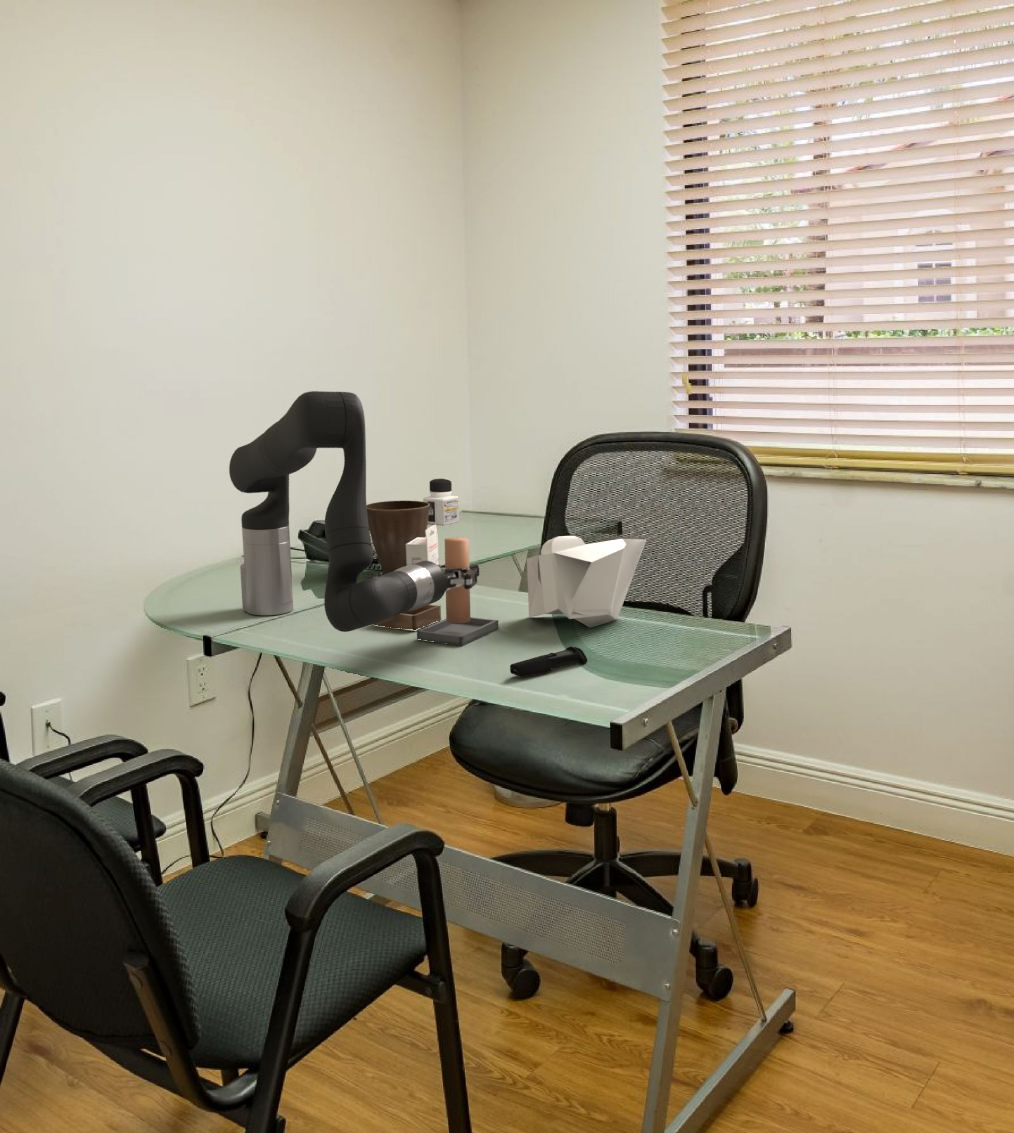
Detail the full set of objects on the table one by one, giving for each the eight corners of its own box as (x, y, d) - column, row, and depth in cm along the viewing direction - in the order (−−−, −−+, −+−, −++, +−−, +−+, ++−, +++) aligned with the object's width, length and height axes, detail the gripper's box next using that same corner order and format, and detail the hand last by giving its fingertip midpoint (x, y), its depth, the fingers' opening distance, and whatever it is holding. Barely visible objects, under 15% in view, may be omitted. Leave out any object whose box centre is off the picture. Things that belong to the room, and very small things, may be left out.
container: (444, 525, 334) (443, 481, 332) (423, 523, 339) (422, 479, 336) (459, 521, 341) (458, 478, 338) (438, 519, 345) (437, 477, 342)
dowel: (441, 621, 208) (440, 540, 205) (454, 616, 212) (452, 536, 209) (462, 624, 206) (461, 542, 203) (474, 619, 210) (473, 538, 207)
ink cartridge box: (417, 590, 248) (415, 523, 245) (439, 590, 247) (438, 523, 244) (406, 598, 239) (404, 529, 237) (429, 599, 238) (427, 529, 236)
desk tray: (417, 640, 206) (416, 631, 205) (455, 623, 217) (454, 615, 217) (462, 646, 201) (461, 636, 201) (498, 629, 213) (498, 620, 213)
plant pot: (398, 582, 256) (396, 511, 253) (353, 573, 266) (351, 505, 262) (444, 571, 267) (443, 503, 264) (400, 564, 277) (398, 498, 274)
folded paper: (516, 531, 217) (558, 553, 202) (625, 522, 227) (672, 542, 212) (514, 617, 222) (554, 644, 207) (620, 604, 232) (667, 629, 217)
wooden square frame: (374, 626, 216) (373, 611, 216) (400, 616, 224) (400, 601, 224) (415, 631, 212) (414, 615, 211) (441, 620, 220) (440, 605, 219)
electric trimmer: (504, 679, 183) (503, 660, 182) (573, 660, 193) (573, 642, 192) (519, 685, 180) (519, 665, 179) (589, 664, 190) (589, 646, 189)
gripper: (450, 568, 191) (499, 551, 205) (379, 561, 197) (431, 546, 212) (451, 611, 192) (499, 592, 207) (380, 604, 199) (432, 585, 213)
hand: (464, 569), depth 209 cm, fingers closed on dowel, 4 cm apart
